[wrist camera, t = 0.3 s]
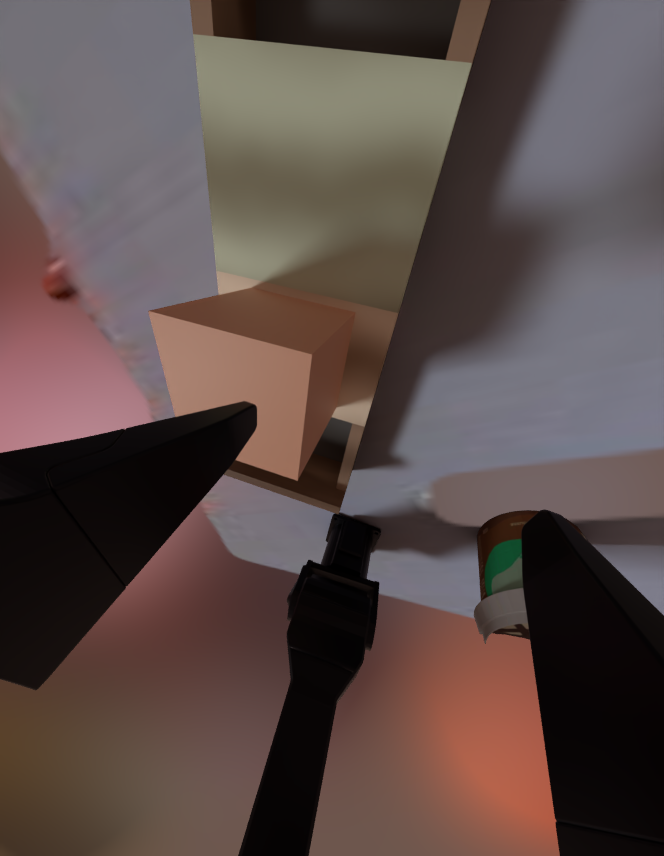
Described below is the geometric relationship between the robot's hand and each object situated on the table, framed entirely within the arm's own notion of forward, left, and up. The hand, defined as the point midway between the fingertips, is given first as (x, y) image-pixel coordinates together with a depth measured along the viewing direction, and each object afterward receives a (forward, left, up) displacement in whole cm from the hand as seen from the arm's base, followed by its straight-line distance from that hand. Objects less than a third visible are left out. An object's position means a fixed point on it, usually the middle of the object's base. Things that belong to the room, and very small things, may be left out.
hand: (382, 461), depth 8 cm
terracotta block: (-2, +7, -11) cm, 13 cm away
